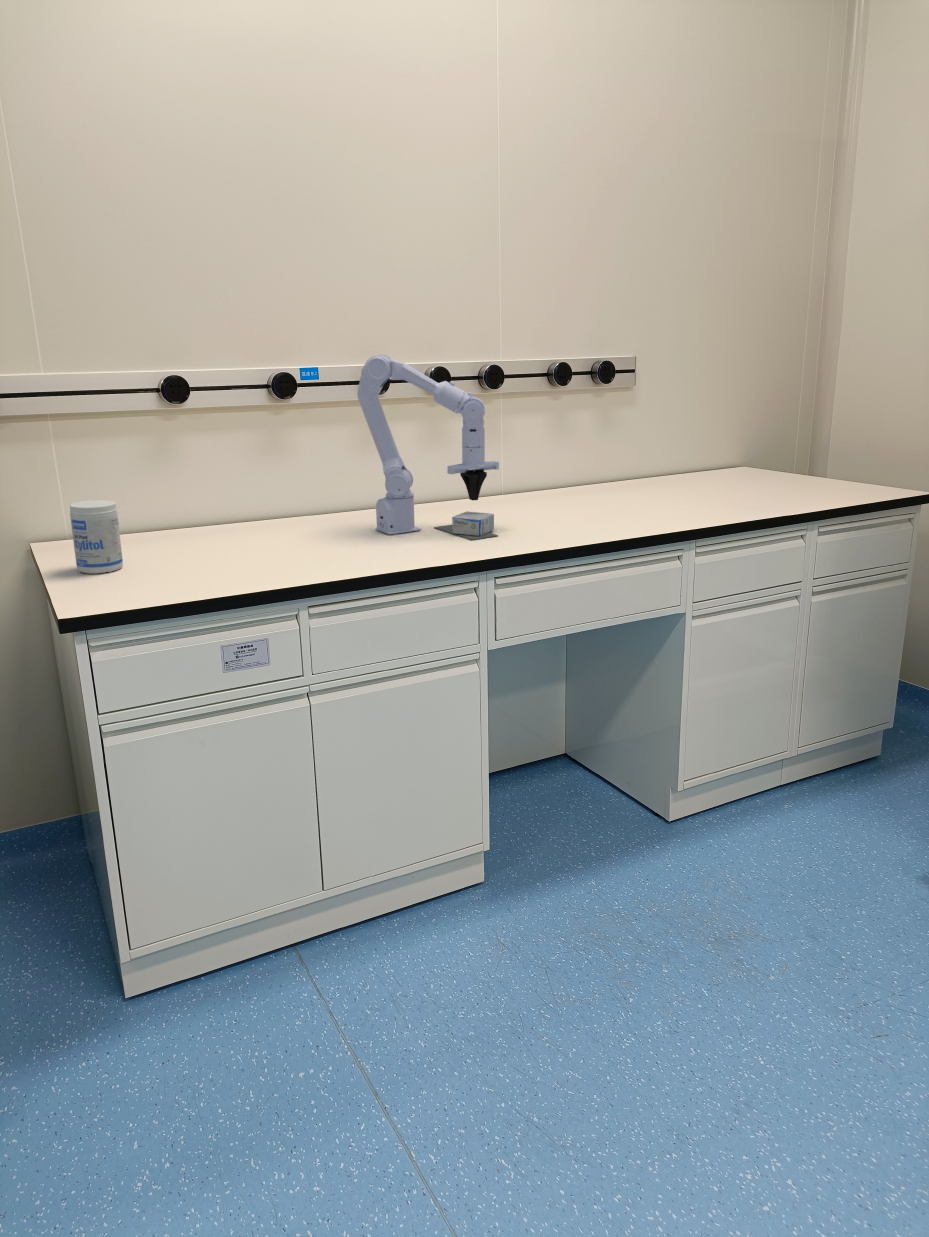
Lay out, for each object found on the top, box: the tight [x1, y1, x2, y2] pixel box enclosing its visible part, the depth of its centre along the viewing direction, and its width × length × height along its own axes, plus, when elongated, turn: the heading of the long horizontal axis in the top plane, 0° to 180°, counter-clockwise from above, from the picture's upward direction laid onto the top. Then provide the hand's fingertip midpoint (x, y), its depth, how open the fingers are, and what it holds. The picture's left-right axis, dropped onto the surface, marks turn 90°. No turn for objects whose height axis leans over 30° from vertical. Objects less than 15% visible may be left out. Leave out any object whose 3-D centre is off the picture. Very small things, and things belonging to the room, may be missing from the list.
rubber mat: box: [433, 524, 499, 541], centre depth 230 cm, size 8×18×1 cm, turn 33°
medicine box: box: [451, 511, 495, 536], centre depth 228 cm, size 8×4×9 cm
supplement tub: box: [69, 499, 124, 575], centre depth 195 cm, size 10×10×15 cm
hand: (473, 499), depth 230 cm, fingers closed
